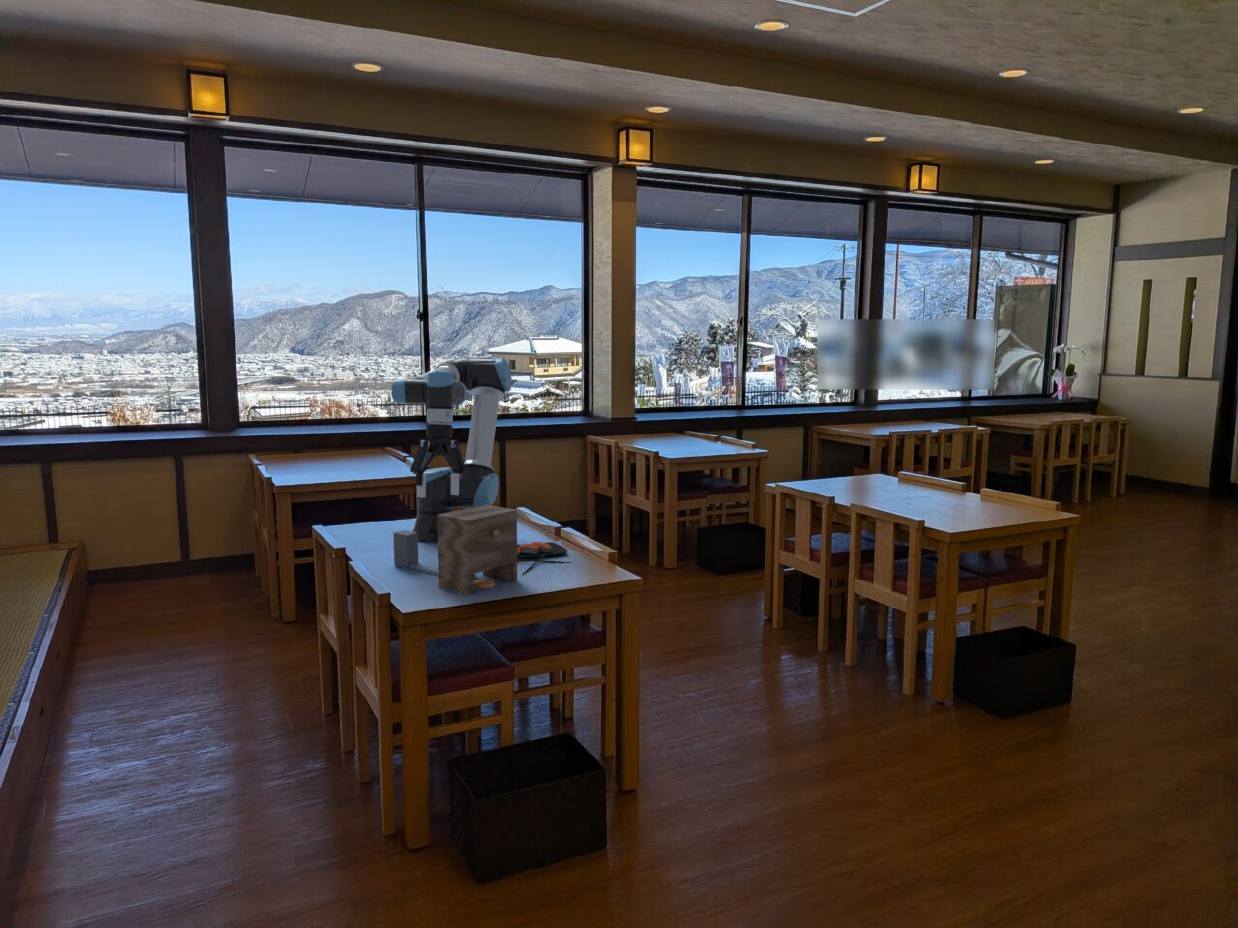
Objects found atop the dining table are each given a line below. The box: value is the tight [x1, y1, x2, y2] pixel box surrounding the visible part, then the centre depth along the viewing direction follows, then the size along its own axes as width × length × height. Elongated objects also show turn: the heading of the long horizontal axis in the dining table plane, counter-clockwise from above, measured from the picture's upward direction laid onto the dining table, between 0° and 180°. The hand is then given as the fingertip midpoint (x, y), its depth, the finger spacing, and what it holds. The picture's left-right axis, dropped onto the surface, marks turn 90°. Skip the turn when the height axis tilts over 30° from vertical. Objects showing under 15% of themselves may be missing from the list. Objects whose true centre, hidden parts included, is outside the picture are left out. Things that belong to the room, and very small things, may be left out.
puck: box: [474, 578, 496, 589], centre depth 233 cm, size 6×6×1 cm
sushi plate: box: [517, 541, 571, 576], centre depth 258 cm, size 29×30×4 cm
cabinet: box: [437, 505, 518, 596], centre depth 233 cm, size 13×18×20 cm
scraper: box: [392, 529, 476, 578], centre depth 245 cm, size 27×9×10 cm, turn 54°
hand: (438, 496), depth 251 cm, fingers open, 13 cm apart
